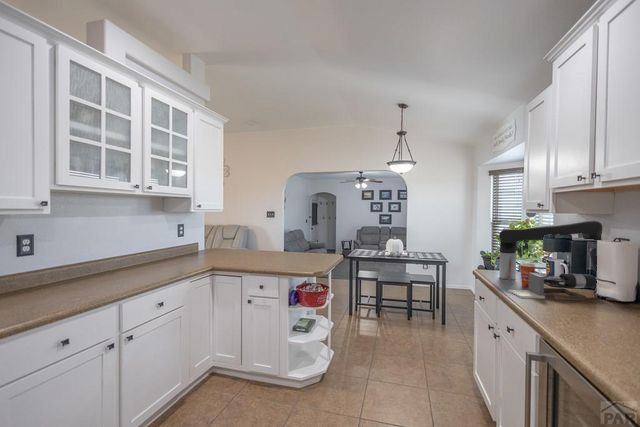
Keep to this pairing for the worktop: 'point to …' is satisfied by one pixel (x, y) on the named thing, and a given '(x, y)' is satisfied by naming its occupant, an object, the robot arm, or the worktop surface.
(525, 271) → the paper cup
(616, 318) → the worktop surface
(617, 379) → the worktop surface
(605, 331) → the worktop surface
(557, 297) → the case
